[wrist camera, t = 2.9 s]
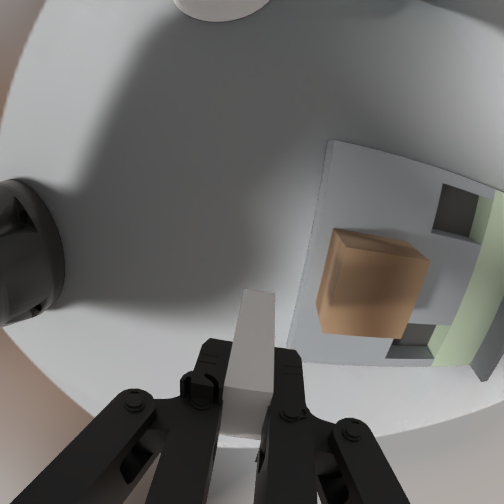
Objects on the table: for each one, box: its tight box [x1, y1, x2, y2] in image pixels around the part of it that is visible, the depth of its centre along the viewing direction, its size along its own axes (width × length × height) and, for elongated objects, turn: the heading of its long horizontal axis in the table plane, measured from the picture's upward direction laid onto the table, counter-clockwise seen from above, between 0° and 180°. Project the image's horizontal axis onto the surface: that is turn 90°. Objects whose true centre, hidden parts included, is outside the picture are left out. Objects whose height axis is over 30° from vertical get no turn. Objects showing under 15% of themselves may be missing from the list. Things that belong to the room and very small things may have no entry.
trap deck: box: [287, 140, 504, 382], centre depth 21 cm, size 22×18×5 cm
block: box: [315, 228, 430, 339], centre depth 20 cm, size 6×6×4 cm
